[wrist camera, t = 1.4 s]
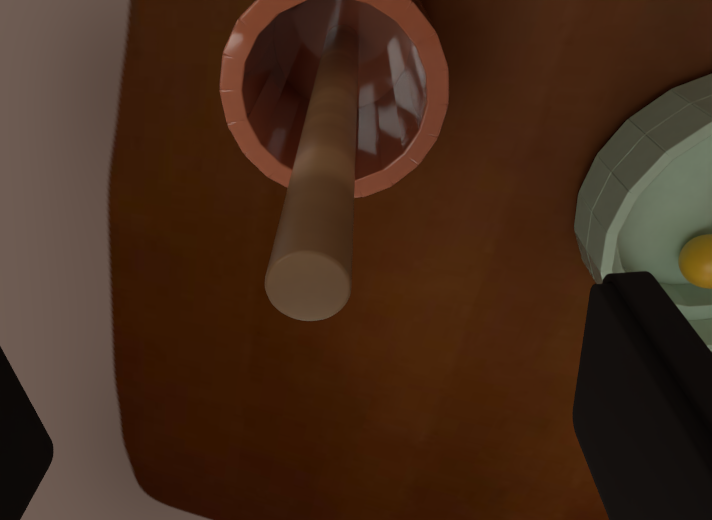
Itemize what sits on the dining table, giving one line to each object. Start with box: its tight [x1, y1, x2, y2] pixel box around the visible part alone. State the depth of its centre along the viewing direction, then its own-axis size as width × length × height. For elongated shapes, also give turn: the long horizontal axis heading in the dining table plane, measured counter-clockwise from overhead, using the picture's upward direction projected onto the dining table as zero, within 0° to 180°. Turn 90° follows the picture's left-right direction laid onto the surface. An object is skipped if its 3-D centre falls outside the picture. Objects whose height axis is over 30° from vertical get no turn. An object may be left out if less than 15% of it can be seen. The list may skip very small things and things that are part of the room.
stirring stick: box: [265, 25, 359, 321], centre depth 19 cm, size 2×2×20 cm
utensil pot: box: [219, 0, 449, 198], centre depth 24 cm, size 8×8×9 cm
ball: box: [678, 234, 712, 289], centre depth 32 cm, size 3×3×3 cm
